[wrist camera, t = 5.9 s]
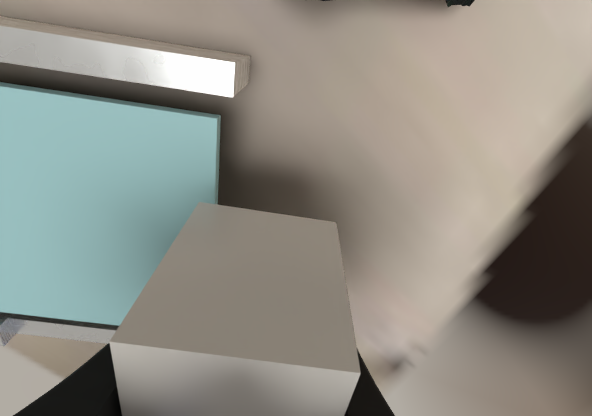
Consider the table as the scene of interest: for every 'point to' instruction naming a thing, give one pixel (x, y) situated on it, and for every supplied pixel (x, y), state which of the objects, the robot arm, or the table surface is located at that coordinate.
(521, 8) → the table surface
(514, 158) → the table surface
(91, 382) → the robot arm
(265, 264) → the stone block
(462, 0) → the decorative rock
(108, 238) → the trapdoor
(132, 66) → the frame
